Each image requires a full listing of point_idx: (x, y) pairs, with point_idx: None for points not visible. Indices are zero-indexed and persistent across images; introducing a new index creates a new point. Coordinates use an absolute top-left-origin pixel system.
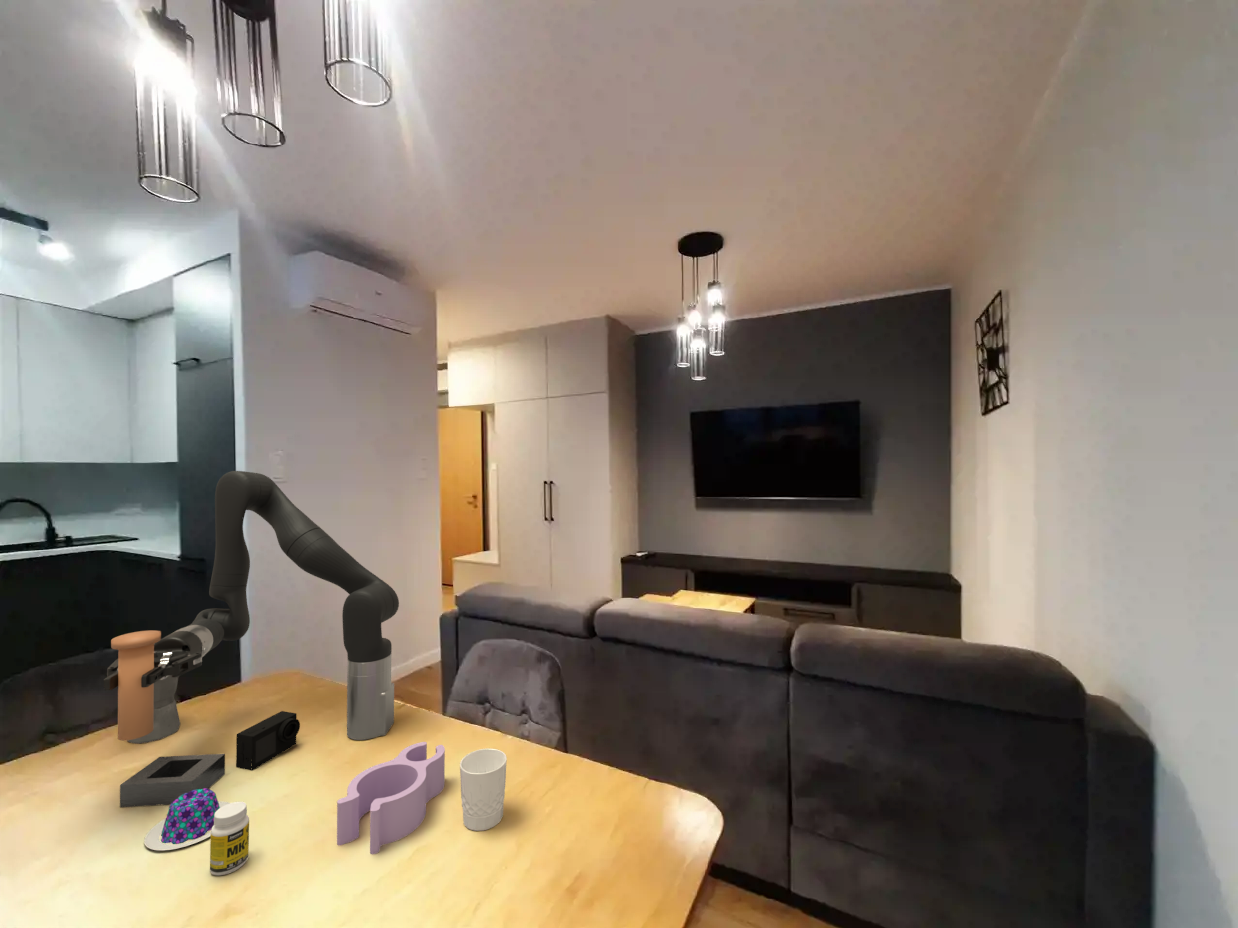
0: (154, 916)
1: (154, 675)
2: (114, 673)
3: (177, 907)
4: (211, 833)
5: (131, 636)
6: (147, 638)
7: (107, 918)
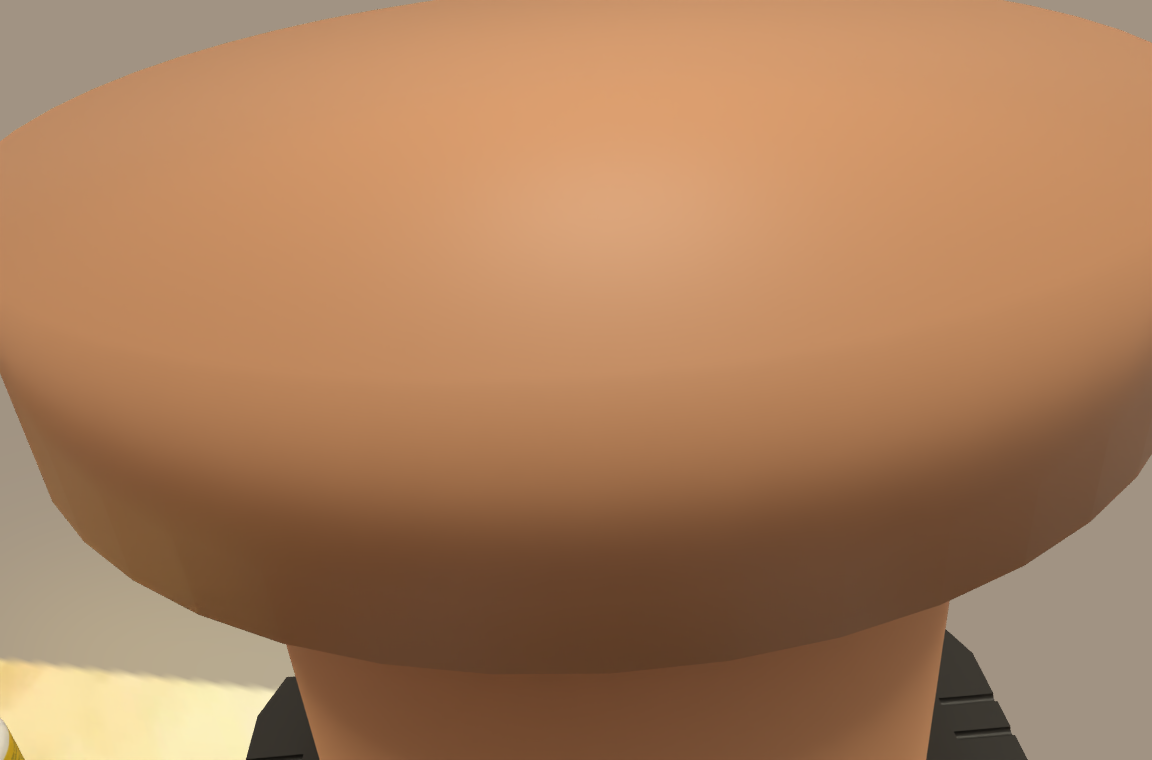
0: (208, 689)
1: (263, 719)
2: (934, 718)
3: (149, 711)
4: (5, 724)
5: (727, 87)
6: (204, 54)
7: None
